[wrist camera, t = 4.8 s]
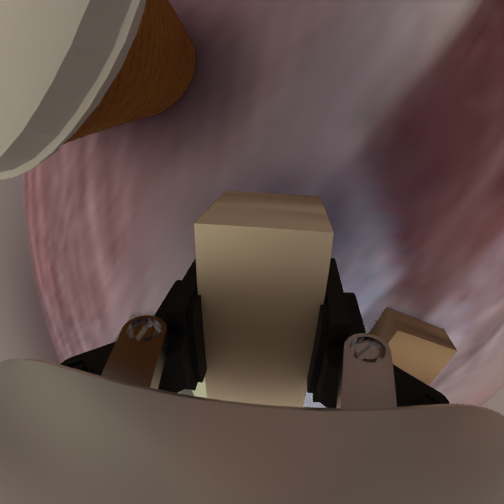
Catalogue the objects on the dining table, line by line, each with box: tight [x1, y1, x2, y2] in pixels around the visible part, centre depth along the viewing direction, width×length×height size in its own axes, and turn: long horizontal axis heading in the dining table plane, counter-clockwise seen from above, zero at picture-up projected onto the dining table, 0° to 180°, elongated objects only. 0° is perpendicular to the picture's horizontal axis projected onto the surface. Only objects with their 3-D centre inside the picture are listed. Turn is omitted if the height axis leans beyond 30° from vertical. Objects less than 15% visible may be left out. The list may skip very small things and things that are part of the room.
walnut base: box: [369, 308, 457, 385], centre depth 20 cm, size 9×6×3 cm, turn 159°
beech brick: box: [194, 191, 334, 407], centre depth 11 cm, size 7×4×4 cm, turn 178°
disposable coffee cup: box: [0, 0, 196, 180], centre depth 9 cm, size 10×10×12 cm
